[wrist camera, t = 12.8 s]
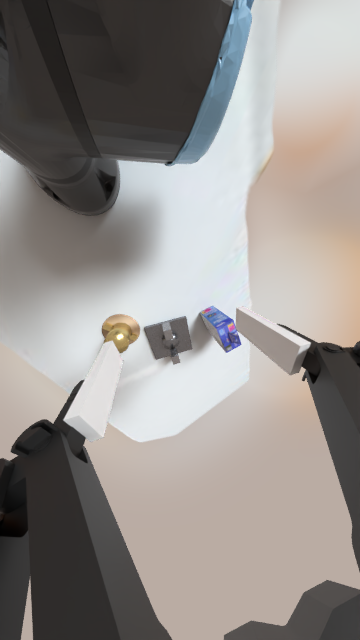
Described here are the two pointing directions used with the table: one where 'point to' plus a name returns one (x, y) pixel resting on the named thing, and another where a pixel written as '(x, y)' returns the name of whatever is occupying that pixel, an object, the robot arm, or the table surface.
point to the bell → (119, 335)
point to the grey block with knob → (169, 338)
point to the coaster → (122, 319)
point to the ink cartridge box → (221, 328)
